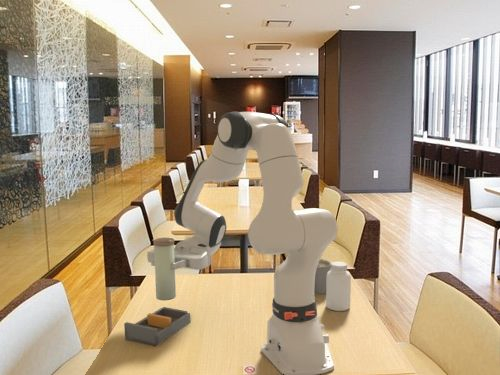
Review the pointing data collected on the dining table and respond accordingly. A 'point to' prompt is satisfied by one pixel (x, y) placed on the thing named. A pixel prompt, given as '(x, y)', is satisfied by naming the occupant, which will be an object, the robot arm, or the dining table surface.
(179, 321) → the gray open tray
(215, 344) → the dining table surface
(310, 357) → the robot arm
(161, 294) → the jar
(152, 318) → the block
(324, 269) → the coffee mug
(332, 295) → the pill bottle
